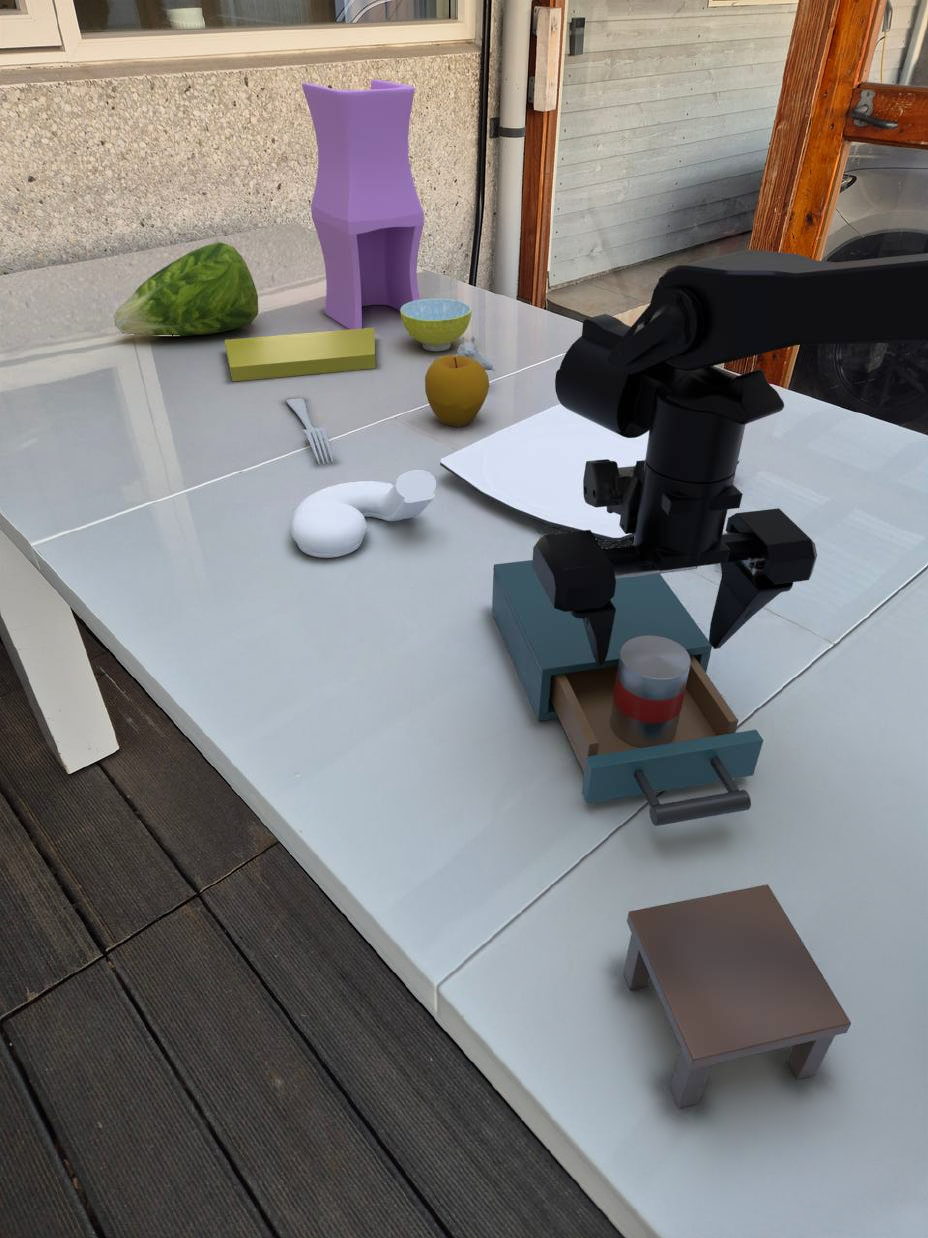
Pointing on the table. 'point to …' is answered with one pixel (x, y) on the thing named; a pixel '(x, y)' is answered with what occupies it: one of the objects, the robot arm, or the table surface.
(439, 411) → the apple
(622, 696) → the can
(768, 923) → the stool
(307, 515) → the sculpture
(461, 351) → the figurine
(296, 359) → the flat olive board
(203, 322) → the lettuce
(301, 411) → the fork
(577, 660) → the cabinet
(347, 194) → the purple hollow column
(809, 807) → the table surface
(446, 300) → the bowl
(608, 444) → the plate
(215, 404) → the table surface
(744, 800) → the drawer
